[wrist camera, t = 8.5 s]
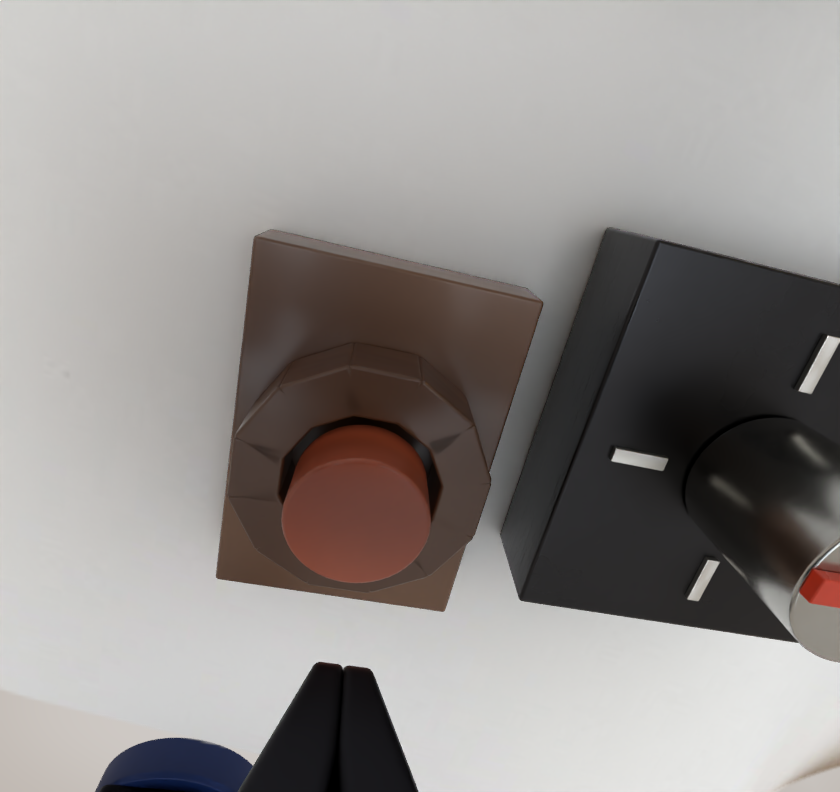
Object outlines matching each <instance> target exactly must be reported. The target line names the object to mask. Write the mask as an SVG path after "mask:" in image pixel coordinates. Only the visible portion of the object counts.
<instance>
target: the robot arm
mask: <svg viewBox="0 0 840 792" xmlns="http://www.w3.org/2000/svg"><path fill="white" fill-rule="evenodd" d="M99 792H185V791H175V790H164V789H154V788H143V787H133V786H122V785H105V786H103V787H101V789H100V791H99ZM238 792H418V789H417V787H416V784H415V781H414V779H413V776H412V773H411V771H410V768H409V766H408V763H407V760H406V758H405V755H404V753H403V750H402V747H401V745H400V742H399V739H398V737H397V734H396V732H395V729H394V726H393V724H392V721H391V719H390V716H389V713H388V711H387V708H386V705H385V703H384V700H383V698H382V695H381V692H380V690H379V687H378V684H377V682H376V679H375V677H374V674H373V672H372V671H371V670H370V669H368V668H363V667H355V666H346V667H345V668H344V669H343V668H342V666H341V665H339V664H332V663H324V662H318V663H316V664H315V665H314V666H313V667H312V669H311V671H310V672H309V674H308V676H307V677H306V679H305V681H304V682H303V684H302V686H301V687H300V689H299V691H298V692H297V694H296V696H295V697H294V699H293V701H292V702H291V704H290V706H289V707H288V709H287V711H286V712H285V714H284V716H283V717H282V719H281V721H280V722H279V724H278V726H277V727H276V729H275V731H274V732H273V734H272V736H271V737H270V739H269V741H268V742H267V744H266V746H265V747H264V749H263V751H262V752H261V754H260V756H259V757H258V759H257V761H256V762H255V764H254V765H253V767H252V769H251V770H250V772H249V774H248V775H247V777H246V779H245V780H244V782H243V784H242V785H241V787H240V789H239V790H238Z"/></svg>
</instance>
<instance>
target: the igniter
mask: <svg viewBox="0 0 840 792" xmlns="http://www.w3.org/2000/svg"><path fill="white" fill-rule="evenodd" d="M542 307H543V301H541V300H540V299H539V298H538V297H537V296H535V295H534V294H533V293H532V292H531V291H530V290H528V289H527V288H523V287H519V286H515V285H510V284H506V283H502V282H498V281H493V280H489V279H485V278H480V277H476V276H472V275H467V274H463V273H459V272H454V271H450V270H446V269H441V268H437V267H433V266H428V265H424V264H420V263H415V262H411V261H407V260H402V259H398V258H394V257H389V256H385V255H381V254H376V253H372V252H368V251H363V250H359V249H355V248H350V247H346V246H342V245H337V244H333V243H329V242H324V241H320V240H316V239H311V238H307V237H303V236H298V235H294V234H290V233H285V232H281V231H277V230H268V231H266V232H264V233H261V234H259V235H257V236H255V237H254V241H253V249H252V258H251V267H250V276H249V285H248V294H247V303H246V312H245V321H244V330H243V339H242V348H241V357H240V365H239V374H238V383H237V392H236V401H235V410H234V419H233V428H232V437H231V446H230V455H229V464H228V472H227V481H226V490H225V499H224V508H223V517H222V526H221V535H220V544H219V553H218V562H217V571H216V578H217V579H222V580H229V581H236V582H242V583H249V584H256V585H263V586H270V587H277V588H284V589H290V590H297V591H304V592H311V593H318V594H325V595H331V596H338V597H345V598H352V599H359V600H366V601H372V602H379V603H386V604H393V605H400V606H407V607H414V608H420V609H427V610H434V611H441V612H443V611H445V609H446V606H447V602H448V599H449V596H450V593H451V590H452V587H453V584H454V581H455V578H456V574H457V571H458V568H459V565H460V562H461V559H462V556H463V553H464V550H465V546H466V544H467V543H468V542H470V541H471V540H472V538H473V536H474V535H475V532H476V529H477V526H478V523H479V520H480V517H481V514H482V511H483V508H484V505H485V502H486V499H487V495H488V492H489V489H490V486H491V476H490V473H489V472H490V469H491V466H492V462H493V459H494V456H495V453H496V450H497V447H498V444H499V441H500V438H501V434H502V431H503V428H504V425H505V422H506V419H507V416H508V413H509V410H510V406H511V403H512V400H513V397H514V394H515V391H516V388H517V385H518V382H519V378H520V375H521V372H522V369H523V366H524V363H525V360H526V357H527V354H528V350H529V347H530V344H531V341H532V338H533V335H534V332H535V329H536V326H537V322H538V319H539V316H540V313H541V310H542ZM348 425H371V426H376V427H380V428H384V429H386V430H389V431H391V432H393V433H395V434H397V435H399V436H400V437H401V438H403V439H404V440H406V441H407V442H408V443H409V444H410V445H411V446H412V447H413V448H414V449H415V451H416V452H417V453H418V455H419V456H420V458H421V460H422V462H423V465H424V467H425V471H426V477H427V486H428V495H429V505H430V514H431V528H430V533H429V536H428V539H427V542H426V544H425V546H424V548H423V549H422V551H421V552H420V554H419V555H418V556H417V558H416V559H415V560H414V561H413V562H412V563H411V564H410V565H408V566H407V567H406V568H405V569H403V570H402V571H400V572H398V573H397V574H394V575H392V576H390V577H388V578H385V579H382V580H378V581H373V582H367V583H347V582H341V581H336V580H332V579H329V578H326V577H324V576H321V575H319V574H317V573H315V572H314V571H312V570H310V569H309V568H308V567H306V566H305V565H304V564H303V563H301V562H300V561H299V560H298V559H297V558H296V556H295V555H294V554H293V552H292V551H291V549H290V548H289V546H288V544H287V542H286V539H285V537H284V534H283V529H282V521H281V517H282V509H283V504H284V501H285V498H286V495H287V492H288V489H289V486H290V483H291V480H292V477H293V474H294V471H295V468H296V465H297V463H298V461H299V458H300V457H301V455H302V453H303V452H304V450H305V449H306V448H307V447H308V446H309V445H310V444H311V443H312V442H313V441H314V440H315V439H317V438H318V437H319V436H321V435H323V434H324V433H326V432H328V431H331V430H333V429H336V428H339V427H343V426H348Z"/></svg>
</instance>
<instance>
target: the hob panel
mask: <svg viewBox="0 0 840 792" xmlns="http://www.w3.org/2000/svg"><path fill="white" fill-rule="evenodd" d="M761 418H786V419H792V420H795V421H799V422H801V423H803V424H805V425H807V426H809V427H810V428H812V429H814V430H815V431H817V432H818V433H820V434H822V435H823V436H825V437H827V438H828V439H830V440H832V441H833V442H835V443H837V444H838V445H840V284H837V283H833V282H829V281H825V280H821V279H817V278H813V277H809V276H805V275H801V274H797V273H793V272H789V271H785V270H781V269H777V268H773V267H769V266H765V265H761V264H757V263H753V262H749V261H745V260H741V259H737V258H734V257H730V256H726V255H722V254H718V253H714V252H710V251H706V250H702V249H698V248H694V247H690V246H686V245H682V244H678V243H674V242H670V241H666V240H662V239H658V238H654V237H649V236H645V235H641V234H637V233H632V232H628V231H624V230H620V229H615V228H607V230H606V232H605V235H604V238H603V241H602V243H601V246H600V249H599V252H598V255H597V258H596V261H595V264H594V266H593V269H592V272H591V275H590V278H589V281H588V284H587V287H586V289H585V292H584V295H583V298H582V301H581V304H580V307H579V310H578V312H577V315H576V318H575V321H574V324H573V327H572V330H571V333H570V336H569V338H568V341H567V344H566V347H565V350H564V353H563V356H562V359H561V361H560V364H559V367H558V370H557V373H556V376H555V379H554V382H553V384H552V387H551V390H550V393H549V396H548V399H547V402H546V405H545V407H544V410H543V413H542V416H541V419H540V422H539V425H538V428H537V430H536V433H535V436H534V439H533V442H532V445H531V448H530V451H529V453H528V456H527V459H526V462H525V465H524V468H523V471H522V474H521V476H520V479H519V482H518V485H517V488H516V491H515V494H514V497H513V499H512V502H511V505H510V508H509V511H508V514H507V517H506V520H505V523H504V525H503V528H502V531H501V534H500V535H501V539H502V543H503V546H504V549H505V553H506V556H507V559H508V563H509V566H510V570H511V573H512V576H513V580H514V583H515V586H516V590H517V593H518V597H519V599H520V600H521V601H525V602H532V603H538V604H545V605H552V606H558V607H565V608H571V609H578V610H585V611H591V612H598V613H604V614H611V615H617V616H624V617H631V618H637V619H644V620H650V621H657V622H664V623H670V624H677V625H683V626H690V627H697V628H703V629H710V630H716V631H723V632H730V633H736V634H743V635H749V636H756V637H762V638H769V639H776V640H782V641H789V642H795V643H799V642H798V641H797V640H796V639H795V638H794V637H793V635H792V634H791V633H790V632H789V631H788V630H787V628H786V627H785V626H784V625H783V624H782V623H781V622H780V620H779V619H778V618H777V617H776V616H775V615H774V614H773V612H772V611H771V610H770V609H769V608H768V607H767V605H766V604H765V603H764V602H763V601H762V600H761V599H760V597H759V596H758V595H757V594H756V593H755V592H754V590H753V589H752V588H751V587H750V586H749V585H748V584H747V582H746V581H745V580H744V579H743V578H742V577H741V576H740V574H739V573H738V572H737V571H736V570H735V569H734V567H733V566H732V565H731V564H730V563H729V562H728V561H727V559H726V558H725V557H724V556H723V555H722V554H721V552H720V551H719V550H718V549H717V548H716V547H715V546H714V544H713V543H712V542H711V541H710V540H709V539H708V538H707V536H706V535H705V534H704V533H703V532H702V531H701V529H700V528H699V527H698V526H697V525H696V524H695V523H694V521H693V520H692V518H691V517H690V515H689V512H688V510H687V506H686V501H685V488H686V482H687V478H688V475H689V473H690V470H691V468H692V466H693V464H694V463H695V461H696V459H697V458H698V457H699V455H700V454H701V453H702V452H703V450H704V449H705V448H706V447H707V446H708V445H709V444H710V443H711V442H713V441H714V440H715V439H716V438H717V437H719V436H720V435H722V434H723V433H725V432H726V431H728V430H730V429H731V428H734V427H736V426H738V425H740V424H743V423H746V422H749V421H752V420H756V419H761Z"/></svg>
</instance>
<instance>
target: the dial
mask: <svg viewBox="0 0 840 792" xmlns="http://www.w3.org/2000/svg"><path fill="white" fill-rule="evenodd" d="M685 501H686V506H687V510H688V512H689V515H690V517H691V518H692V520H693V521H694V523H695V524H696V525H697V526H698V527H699V528H700V529H701V531H702V532H703V533H704V534H705V535H706V536H707V538H708V539H709V540H710V541H711V542H712V543H713V544H714V546H715V547H716V548H717V549H718V550H719V551H720V552H721V554H722V555H723V556H724V557H725V558H726V559H727V561H728V562H729V563H730V564H731V565H732V566H733V567H734V569H735V570H736V571H737V572H738V573H739V574H740V576H741V577H742V578H743V579H744V580H745V581H746V582H747V584H748V585H749V586H750V587H751V588H752V589H753V590H754V592H755V593H756V594H757V595H758V596H759V597H760V599H761V600H762V601H763V602H764V603H765V604H766V605H767V607H768V608H769V609H770V610H771V611H772V612H773V614H774V615H775V616H776V617H777V618H778V619H779V620H780V622H781V623H782V624H783V625H784V626H785V627H786V628H787V630H788V631H789V632H790V633H791V634H792V635H793V637H794V638H795V639H796V640H797V641H798V642H799V643H800V644H801V646H803V647H804V648H805V649H807V650H808V651H809V652H811V653H813V654H815V655H817V656H819V657H821V658H824V659H827V660H830V661H835V662H840V445H838V444H837V443H835V442H833V441H832V440H830V439H828V438H827V437H825V436H823V435H822V434H820V433H818V432H817V431H815V430H814V429H812V428H810V427H809V426H807V425H805V424H803V423H801V422H799V421H795V420H792V419H786V418H761V419H756V420H752V421H749V422H746V423H743V424H740V425H738V426H736V427H734V428H731V429H730V430H728V431H726V432H725V433H723V434H722V435H720V436H719V437H717V438H716V439H715V440H714V441H713V442H711V443H710V444H709V445H708V446H707V447H706V448H705V449H704V450H703V452H702V453H701V454H700V455H699V457H698V458H697V459H696V461H695V463H694V464H693V466H692V468H691V470H690V473H689V475H688V478H687V482H686V488H685Z"/></svg>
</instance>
